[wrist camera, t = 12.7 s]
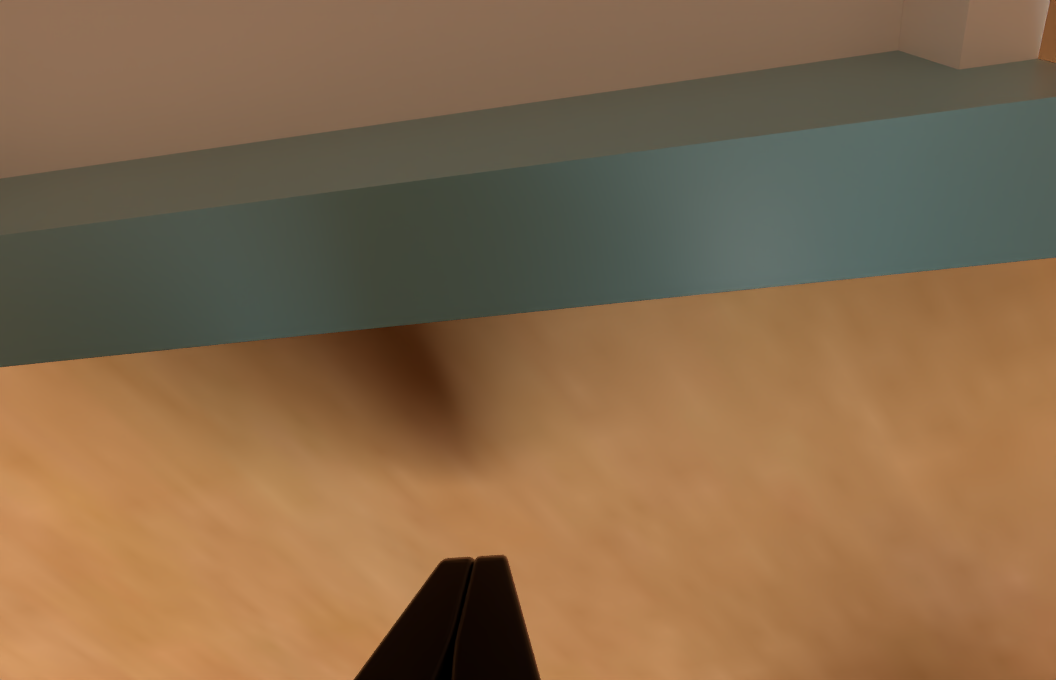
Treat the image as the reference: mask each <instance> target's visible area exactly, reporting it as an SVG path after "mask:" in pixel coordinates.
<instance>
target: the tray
mask: <svg viewBox="0 0 1056 680" xmlns="http://www.w3.org/2000/svg"><path fill="white" fill-rule="evenodd" d="M1049 3H1050V0H0V367H6V366H16V365H25V364H35V363H45V362H54V361H64V360H74V359H83V358H93V357H102V356H112V355H122V354H131V353H141V352H151V351H160V350H170V349H179V348H189V347H199V346H208V345H218V344H228V343H237V342H247V341H256V340H266V339H276V338H285V337H295V336H305V335H314V334H324V333H333V332H343V331H353V330H362V329H372V328H381V327H391V326H401V325H410V324H420V323H430V322H439V321H449V320H458V319H468V318H478V317H487V316H497V315H507V314H516V313H526V312H535V311H545V310H555V309H564V308H574V307H584V306H593V305H603V304H612V303H622V302H632V301H641V300H651V299H661V298H670V297H680V296H689V295H699V294H709V293H718V292H728V291H737V290H747V289H757V288H766V287H776V286H786V285H795V284H805V283H814V282H824V281H834V280H843V279H853V278H863V277H872V276H882V275H891V274H901V273H911V272H920V271H930V270H940V269H949V268H959V267H968V266H978V265H988V264H997V263H1007V262H1017V261H1026V260H1036V259H1045V258H1055V257H1056V63H1053V62H1049V61H1045V60H1041V59H1038V55H1039V50H1040V45H1041V41H1042V36H1043V31H1044V27H1045V22H1046V17H1047V13H1048V8H1049Z"/></svg>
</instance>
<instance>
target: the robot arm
mask: <svg viewBox="0 0 1056 680" xmlns="http://www.w3.org/2000/svg"><path fill="white" fill-rule="evenodd" d="M354 680H541V679H540V675H539V672H538V668H537V664H536V661H535V657H534V653H533V650H532V646H531V643H530V639H529V635H528V632H527V628H526V624H525V621H524V617H523V614H522V610H521V606H520V603H519V599H518V595H517V592H516V588H515V584H514V581H513V577H512V574H511V570H510V566H509V563H508V560H507V557H506V556H504V555H492V556H480V557H477V558H476V559H475V560H474V559H473V558H471V557H459V558H447V559H444V560H442V561H441V562H440V563H439V564H438V566H437V567H436V568H435V570H434V571H433V572H432V574H431V575H430V577H429V578H428V579H427V581H426V582H425V583H424V585H423V586H422V587H421V589H420V590H419V591H418V593H417V594H416V596H415V597H414V598H413V600H412V601H411V602H410V604H409V605H408V606H407V608H406V609H405V611H404V612H403V613H402V615H401V616H400V617H399V619H398V620H397V621H396V623H395V624H394V626H393V627H392V628H391V630H390V631H389V632H388V634H387V635H386V636H385V638H384V639H383V641H382V642H381V643H380V645H379V646H378V647H377V649H376V650H375V651H374V653H373V654H372V656H371V657H370V658H369V660H368V661H367V662H366V664H365V665H364V666H363V668H362V669H361V670H360V672H359V673H358V675H357V676H356V677H355V679H354Z"/></svg>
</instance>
